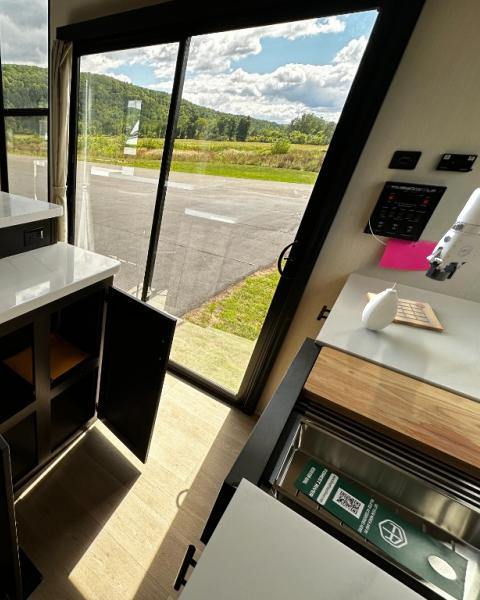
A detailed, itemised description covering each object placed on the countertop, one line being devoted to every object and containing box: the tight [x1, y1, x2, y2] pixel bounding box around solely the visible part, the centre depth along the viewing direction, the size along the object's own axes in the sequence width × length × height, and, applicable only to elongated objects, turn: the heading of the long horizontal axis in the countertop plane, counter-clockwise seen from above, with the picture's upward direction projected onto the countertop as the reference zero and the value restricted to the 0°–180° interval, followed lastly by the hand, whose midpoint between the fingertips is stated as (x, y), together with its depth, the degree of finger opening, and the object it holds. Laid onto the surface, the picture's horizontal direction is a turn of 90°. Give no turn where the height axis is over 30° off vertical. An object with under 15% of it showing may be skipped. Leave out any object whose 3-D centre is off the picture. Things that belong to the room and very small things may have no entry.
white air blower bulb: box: [361, 282, 399, 331], centre depth 104 cm, size 8×8×18 cm
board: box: [366, 292, 444, 333], centre depth 116 cm, size 18×18×1 cm
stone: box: [432, 267, 451, 282], centre depth 111 cm, size 4×4×3 cm
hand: (437, 277), depth 111 cm, fingers closed on stone, 4 cm apart
